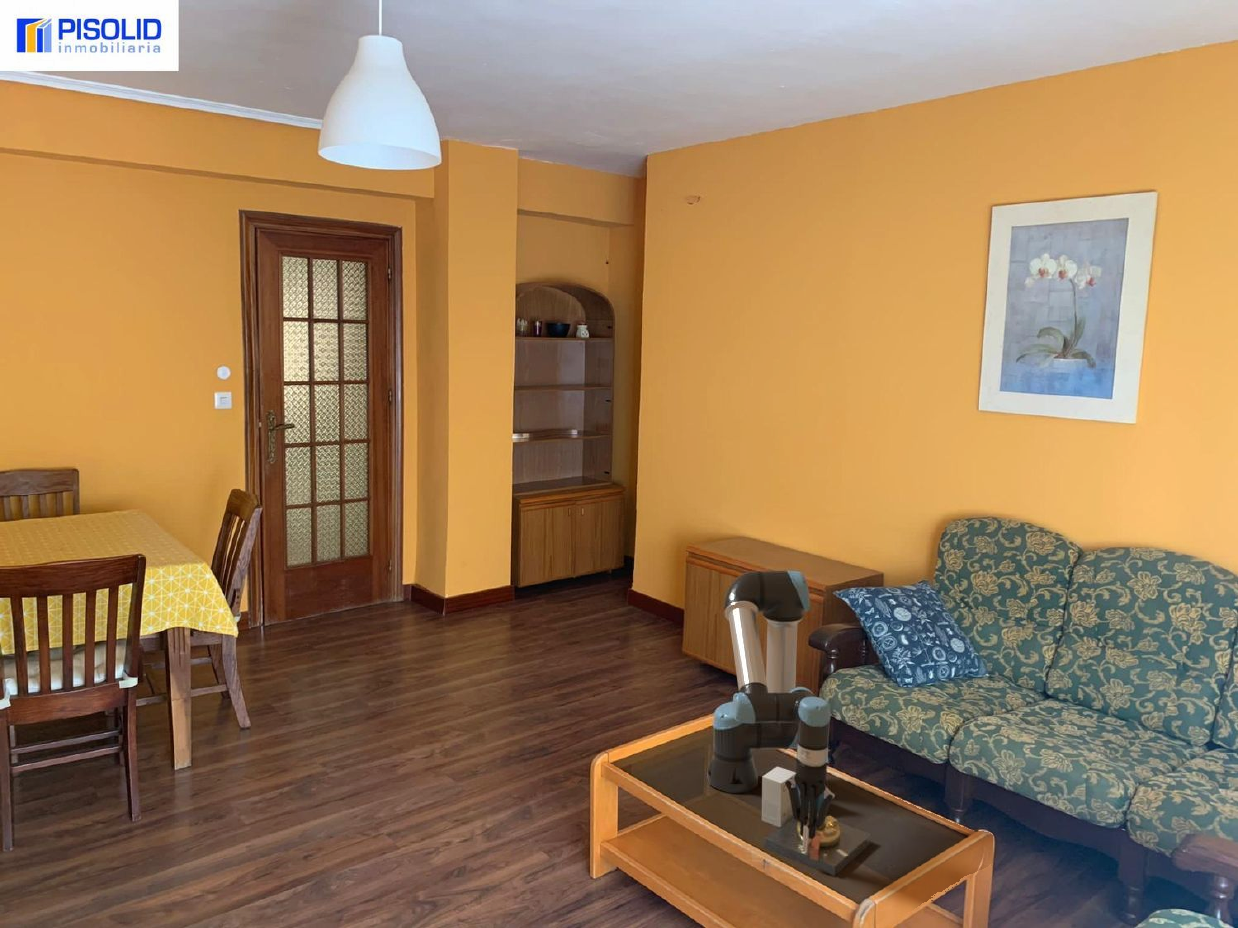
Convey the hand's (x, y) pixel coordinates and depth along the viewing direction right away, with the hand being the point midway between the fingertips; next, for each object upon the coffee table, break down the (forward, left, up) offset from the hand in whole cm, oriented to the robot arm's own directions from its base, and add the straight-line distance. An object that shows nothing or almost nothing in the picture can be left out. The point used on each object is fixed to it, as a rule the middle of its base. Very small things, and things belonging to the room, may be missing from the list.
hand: (806, 848), depth 235 cm
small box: (-17, +14, -4) cm, 22 cm away
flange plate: (-2, +9, -4) cm, 10 cm away
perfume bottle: (-13, +27, -4) cm, 30 cm away
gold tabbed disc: (0, +6, -1) cm, 6 cm away
